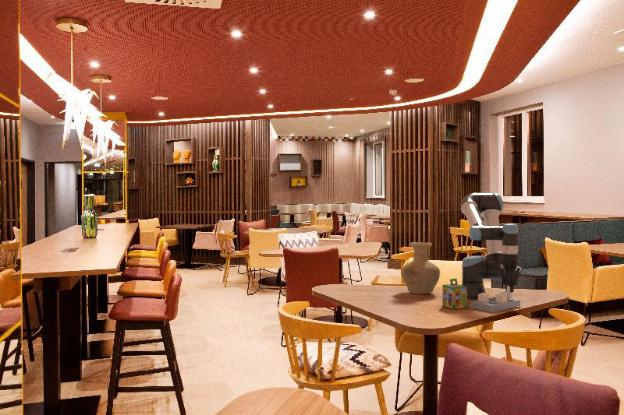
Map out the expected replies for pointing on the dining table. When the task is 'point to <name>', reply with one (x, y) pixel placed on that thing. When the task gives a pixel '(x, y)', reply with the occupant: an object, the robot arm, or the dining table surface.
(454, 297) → the chalk box
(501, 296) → the tab
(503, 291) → the tab
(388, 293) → the dining table surface
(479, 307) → the switch bank
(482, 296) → the tab
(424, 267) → the vase
